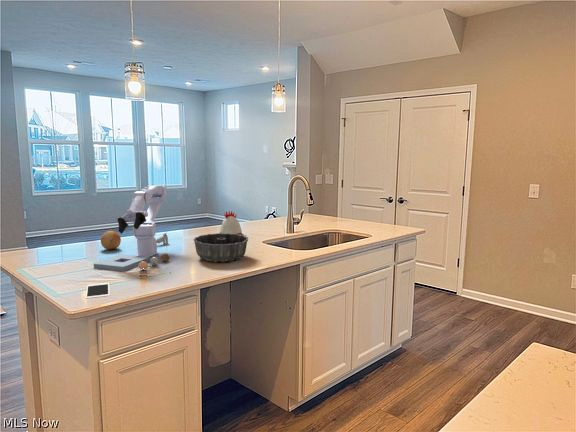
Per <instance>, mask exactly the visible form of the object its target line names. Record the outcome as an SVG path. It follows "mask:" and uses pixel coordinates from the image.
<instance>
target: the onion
mask: <svg viewBox="0 0 576 432" xmlns="http://www.w3.org/2000/svg"><path fill="white" fill-rule="evenodd" d="M121 241H122V239H121V236H120V234H119V233H118V232H117V231H115V230H106V231H105V232H104V233H103V234H102V235H101V236H100V244H101V246H102V247H103V248H104V249H105V250H116V249H118V248H119V247H120V245H121Z"/></svg>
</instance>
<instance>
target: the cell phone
mask: <svg viewBox="0 0 576 432" xmlns="http://www.w3.org/2000/svg"><path fill="white" fill-rule="evenodd" d="M110 295H111V294H110V282H101V283H92V284H87V286H86V293H85V299H94V298H102V297H109V296H110Z"/></svg>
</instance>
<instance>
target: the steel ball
mask: <svg viewBox="0 0 576 432" xmlns="http://www.w3.org/2000/svg"><path fill="white" fill-rule="evenodd" d="M159 263H160V258H158V257H156V256H153V257H150V261H149V264H150V266H152V267H156V266H158V265H159Z"/></svg>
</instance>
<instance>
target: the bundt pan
mask: <svg viewBox="0 0 576 432" xmlns="http://www.w3.org/2000/svg"><path fill="white" fill-rule="evenodd" d="M193 242H194V247H195V251H196V254H197V256H198V257H199V258H200V259H201V260H203V261H208V262H214V263H218V262H220V263H225V262H233V261H237V260H239V259H241V258H243V257H244V256H245V254H246V251H247V245H248V242H249V237H247V236H245V235H239V234H229V233H227V234H223V233H220V232H219V233H208V234H201V235H198V236H194V238H193Z"/></svg>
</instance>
